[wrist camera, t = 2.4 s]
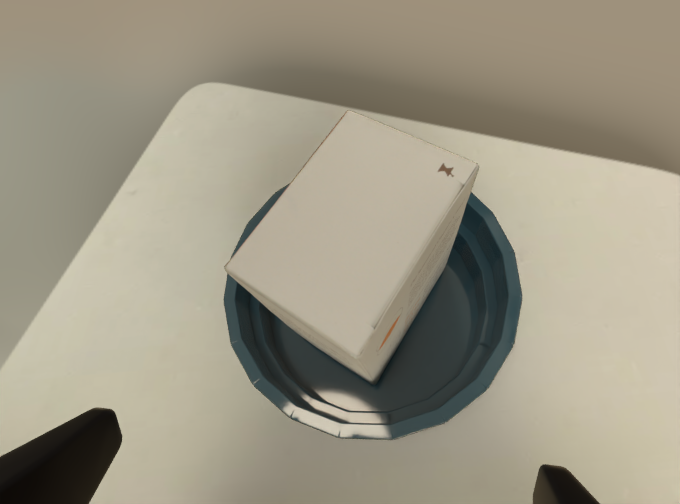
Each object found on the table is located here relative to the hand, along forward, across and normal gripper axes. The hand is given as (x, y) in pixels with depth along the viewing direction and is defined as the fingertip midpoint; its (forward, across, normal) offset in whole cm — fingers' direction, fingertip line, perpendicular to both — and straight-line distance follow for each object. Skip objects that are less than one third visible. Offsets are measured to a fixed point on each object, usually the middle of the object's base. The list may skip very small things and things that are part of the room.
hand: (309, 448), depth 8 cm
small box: (+14, 0, +4) cm, 15 cm away
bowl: (+14, 0, +4) cm, 15 cm away
